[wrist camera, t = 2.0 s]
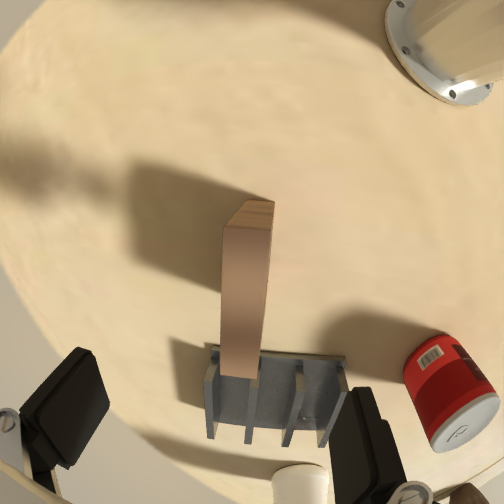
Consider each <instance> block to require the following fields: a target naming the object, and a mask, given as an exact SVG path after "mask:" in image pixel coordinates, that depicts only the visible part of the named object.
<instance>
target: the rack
mask: <svg viewBox="0 0 504 504" xmlns="http://www.w3.org/2000/svg"><path fill="white" fill-rule="evenodd" d="M345 363H346V359H345V356H321V355H302V354H288V353H275V352H264V351H260V355H259V364H258V372H257V379H250V378H241V377H233V376H226V375H220V346H214V345H213V346H212V349H211V360H210V363H209V366H208V369H207V371H206V374H205V377H204V380H203V384H204V401H205V415H206V428H207V438H208V439H215V435H216V430H217V426H218V422H219V423H226V424H233V425H241V426H246V430H245V440H244V444H251V443H252V435H253V428H254V427H260V428H271V429H282V443H281V447H289V444H290V441H291V438H292V435H293V431H294V430H316V432H317V445H318V448H325V446H326V444H327V441H328V439H329V435H330V432H331V430H332V428H333V426H334V423H335V421H336V419H337V416H338V414H339V412H340V409H341V407H342V404H343V402H344V399H345V397H346V394H347V392H348V391H349V388H348V384H347V380H346V376H345V372H344V366H345Z"/></svg>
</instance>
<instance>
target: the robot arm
mask: <svg viewBox="0 0 504 504" xmlns="http://www.w3.org/2000/svg"><path fill="white" fill-rule="evenodd" d="M384 23H385V31H386V35H387V38H388V41H389V43H390V46H391V48H392V50H393V52H394V54H395V55H396V57H397V59H398V60H399V62H400V63H401V65H402V66H403V67H404V69H405V70H406V71H407V72H408V74H409V75H410V76H411V77H412V78H413V79H414V80H415V81H416V82H417V83H418V84H419V85H420V86H421V87H422V88H424V89H425V90H426V91H427V92H429V93H430V94H431V95H433V96H435V97H436V98H438V99H439V100H441V101H444V102H446V103H448V104H451V105H455V106H460V107H466V106H472V105H477V104H479V103H481V102H483V101H484V100H485V99H486V98H487V97H488V96H489V95H490V93H491V91H492V87H493V83H494V82H497V81H501V80H504V0H392V1H391V3H390V4H389V6H388V8H387V10H386V12H385V19H384ZM109 406H110V401H109V398H108V395H107V393H106V390H105V387H104V384H103V381H102V378H101V375H100V372H99V368H98V365H97V362H96V358H95V356H94V355H93V354H92V352H91V351H90V350H87V349H84V348H81V347H76V348H75V349H74V350H73V351H72V352H71V353H70V354H69V355H68V356H67V357H66V358H65V359H64V360H63V361H62V363H61V364H60V365H59V366H58V367H57V368H56V369H55V370H54V371H53V372H52V373H51V374H50V375H49V377H48V378H47V379H46V380H45V381H44V382H43V383H42V384H41V385H40V386H39V387H38V389H37V390H36V391H35V392H34V393H33V394H32V395H31V397H30V398H29V399H28V400H27V401H26V402H25V403H24V404H23V406H22V407H21V408H20V409H19V411H20V412H21V413H20V414H19V415H18V413H17V412H16V411H15V410H13V409H11V408H2V409H0V504H72V503H70V502H68V501H67V500H65V499H63V498H62V495H61V492H60V488H59V484H58V480H57V476H56V472H55V466H56V464H58V465H60V466H62V467H64V468H65V469H67V470H69V468H70V466H73V465H75V463H76V462H77V460H78V458H79V457H80V455H81V453H82V452H83V450H84V448H85V447H86V445H87V443H88V442H89V440H90V438H91V437H92V435H93V433H94V432H95V430H96V429H97V427H98V425H99V424H100V422H101V420H102V419H103V417H104V416H105V414H106V412H107V411H108V409H109ZM329 449H330V457H331V466H332V475H333V484H334V494H335V504H440V503H437V502H435V501H433V493H432V491H431V489H430V488H429V487H428V486H427V485H426V484H424V483H423V482H419V481H409V482H407V479H406V476H405V472H404V469H403V466H402V462H401V459H400V456H399V453H398V449H397V446H396V443H395V440H394V437H393V434H392V431H391V428H390V425H389V423H388V421H387V420H384V419H381V416H380V413H379V410H378V407H377V404H376V401H375V398H374V395H373V392H372V390H371V388H370V387H354V388H353V389H352V391H348V392H347V394H346V397H345V399H344V402H343V404H342V407H341V409H340V412H339V414H338V416H337V419H336V421H335V423H334V426H333V428H332V430H331V432H330V435H329Z"/></svg>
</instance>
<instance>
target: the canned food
mask: <svg viewBox="0 0 504 504" xmlns="http://www.w3.org/2000/svg"><path fill="white" fill-rule="evenodd" d="M403 376H404V383H405V386H406V388H407V390H408V392H409V395H410V397H411V399H412V402H413V404H414V406H415V409H416V411H417V414H418V416H419V419H420V421H421V424H422V426H423V429H424V431H425V434H426V436H427V438H428V441H429V443H430V446H431V448H432V449H433V451H434V452H436V453H443V452H447V451H450V450H453V449H456V448H458V447H460V446H462V445H463V444H465V443H467V442H468V441H470V440H471V439H473V438H474V437H475V436H476V435H478V434H479V433H480V432H481V431H482V430H483V429H484V428H485V427H486V426H487V425H488V424H489V423H490V422H491V420H492V419H493V418H494V416H495V415H496V413H497V411H498V409H499V407H500V399H499V396H498V394H497V393H496V391H495V390H494V388H493V387H492V385H491V384H490V382H489V381H488V380H487V378H486V377H485V375H484V374H483V373H482V371H481V370H480V369H479V367H478V366H477V365H476V363H475V362H474V361H473V360H472V358H471V357H470V356H469V354H468V353H467V352H466V351H465V349H464V348H463V347H462V346H461V344H460V343H459V342H458V341H457V340H456V339H455V338H453V337H451V336H448V335H440V336H436V337H433V338H431V339H429V340H427V341H426V342H424V343H423V344H422V345H420V346H419V347H418V348H417V349H416V350H415V351H414V352H413V353H412V354H411V356H410V357H409V359H408V360H407V362H406V364H405V367H404V373H403Z"/></svg>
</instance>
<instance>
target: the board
mask: <svg viewBox="0 0 504 504" xmlns="http://www.w3.org/2000/svg"><path fill="white" fill-rule="evenodd" d="M274 206H275V202H270V201H258V200H247V201H246V202H245V203H244V204H243V205H242V206H241V208H240V209H239V210H238V211H237V212H236V213H235V214H234V215H233V217H232V218H231V219H230V220H229V221H228V222H227V223H226V225H225V226H224V227H223V250H222V282H221V331H220V375H226V376H233V377H241V378H250V379H257V372H258V364H259V355H260V347H261V339H262V330H263V322H264V313H265V304H266V295H267V284H268V274H269V263H270V252H271V241H272V230H273V218H274Z"/></svg>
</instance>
